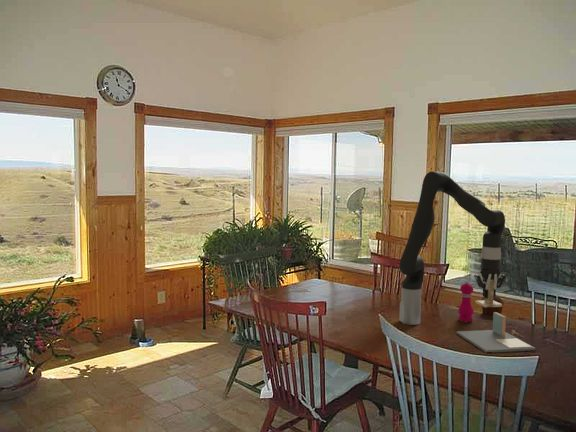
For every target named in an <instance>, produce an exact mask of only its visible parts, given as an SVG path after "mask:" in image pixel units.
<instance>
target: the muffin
mask: <svg viewBox="0 0 576 432" xmlns="http://www.w3.org/2000/svg"><path fill="white" fill-rule="evenodd" d="M481 300H485V298H484V296H482V298H481ZM493 300H494V301H496V302H498V303H501V304H502V307H483V306H481V310H482V314H483V315H485V316H487V317H492V318H493V312H497V313H499V314H501V315H502V312H503V306H504V305H505V303H504V301H503V299H502V298H501V296H498V295H496V296H495V297H494V298H493Z"/></svg>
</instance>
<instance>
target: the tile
mask: <svg viewBox="0 0 576 432" xmlns="http://www.w3.org/2000/svg"><path fill="white" fill-rule="evenodd" d="M506 322H507V316H505V315H503V314H502V313H501V314H499V313H497V312H493V317H492V330H493V332H494V333H496V334H497V335H499V336H501V337H505V332H506V328H507V327H506Z"/></svg>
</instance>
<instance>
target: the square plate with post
mask: <svg viewBox="0 0 576 432" xmlns="http://www.w3.org/2000/svg"><path fill="white" fill-rule="evenodd" d="M486 282H487V281H486ZM493 293H494V280H490V284H489V286H488V298H485V300H475V302H474V303H475V304H477V305H479V306H481V307H482V306H483V307H502V304H501V303H498V302H496V301H494V300H493Z"/></svg>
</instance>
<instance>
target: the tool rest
mask: <svg viewBox="0 0 576 432" xmlns="http://www.w3.org/2000/svg"><path fill="white" fill-rule="evenodd" d="M517 338H518V337H516V338H514V339H495V340H496V341H498V342H500V343H501V344H503V345H505V346H506V347H508V348H525V347H532V346H533V345H531V344H529V343H527V342H525V341H524V340H522V339H520V338H518V339H517ZM519 339H520V340H519ZM521 340H522V341H521ZM523 341H524V342H525V343H524V342H523ZM526 343H527V344H526ZM528 344H529V345H528ZM530 345H531V346H530Z"/></svg>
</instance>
